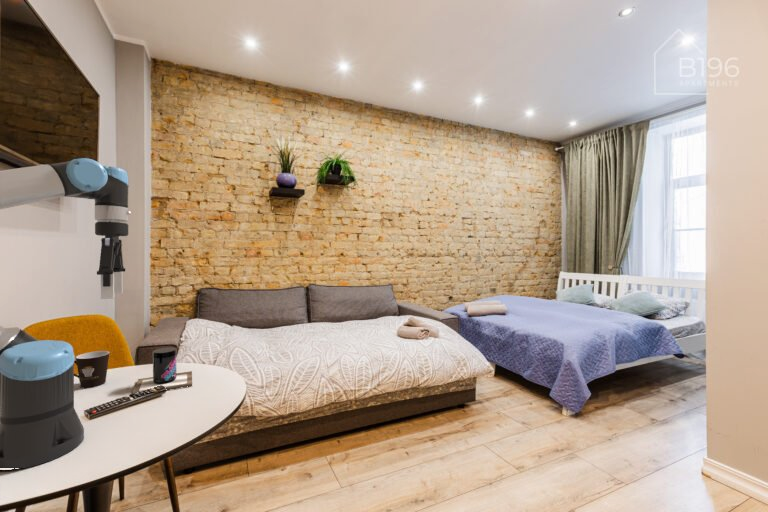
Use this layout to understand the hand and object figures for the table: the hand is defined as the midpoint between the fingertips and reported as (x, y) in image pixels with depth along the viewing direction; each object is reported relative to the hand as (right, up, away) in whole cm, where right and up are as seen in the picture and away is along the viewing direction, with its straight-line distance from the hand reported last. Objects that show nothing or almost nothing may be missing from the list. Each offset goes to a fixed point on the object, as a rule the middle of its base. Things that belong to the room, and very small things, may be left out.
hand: (112, 296), depth 98 cm
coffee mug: (-21, -32, +16) cm, 41 cm away
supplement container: (+4, -31, +17) cm, 35 cm away
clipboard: (+4, -32, +17) cm, 36 cm away
